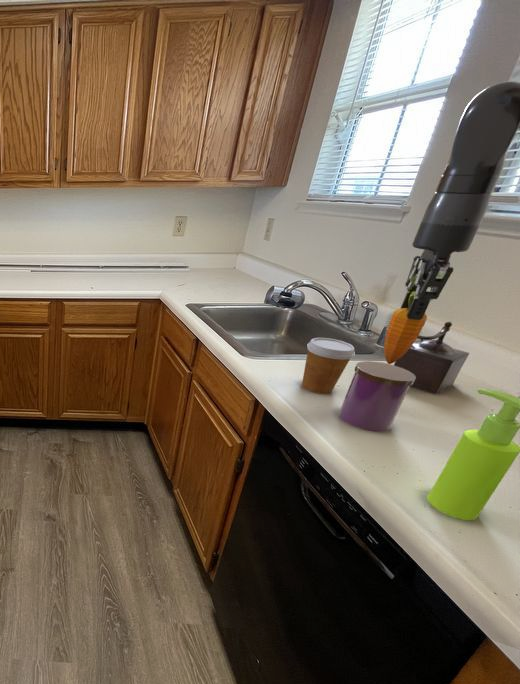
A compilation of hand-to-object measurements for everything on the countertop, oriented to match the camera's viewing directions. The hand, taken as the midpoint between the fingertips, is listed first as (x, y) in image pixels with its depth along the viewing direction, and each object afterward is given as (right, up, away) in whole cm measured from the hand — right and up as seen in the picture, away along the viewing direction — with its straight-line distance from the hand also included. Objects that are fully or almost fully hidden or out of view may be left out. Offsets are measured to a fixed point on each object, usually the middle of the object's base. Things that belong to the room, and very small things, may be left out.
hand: (410, 314), depth 80 cm
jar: (0, -22, +11) cm, 24 cm away
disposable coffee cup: (-1, -15, +24) cm, 29 cm away
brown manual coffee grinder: (+26, -14, +27) cm, 40 cm away
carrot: (0, -10, +5) cm, 11 cm away
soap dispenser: (-6, -33, -12) cm, 36 cm away
